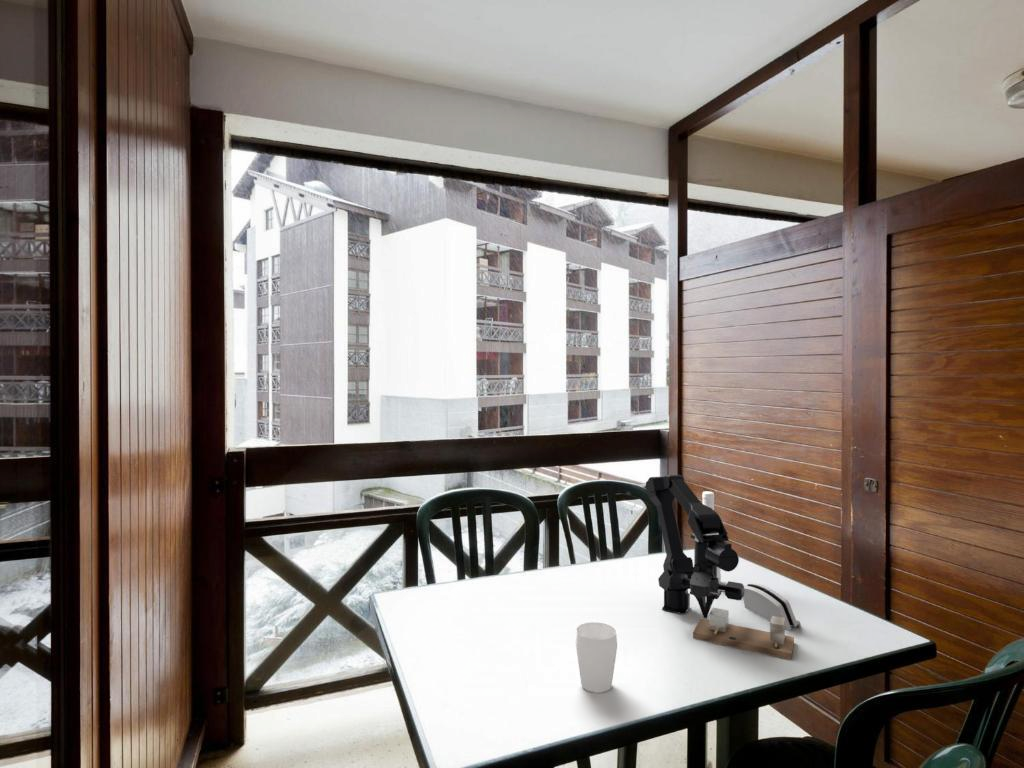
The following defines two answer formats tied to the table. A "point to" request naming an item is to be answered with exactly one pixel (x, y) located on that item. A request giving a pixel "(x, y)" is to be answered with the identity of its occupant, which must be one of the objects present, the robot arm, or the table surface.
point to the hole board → (750, 637)
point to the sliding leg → (718, 620)
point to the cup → (596, 655)
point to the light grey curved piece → (768, 604)
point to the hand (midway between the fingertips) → (705, 617)
